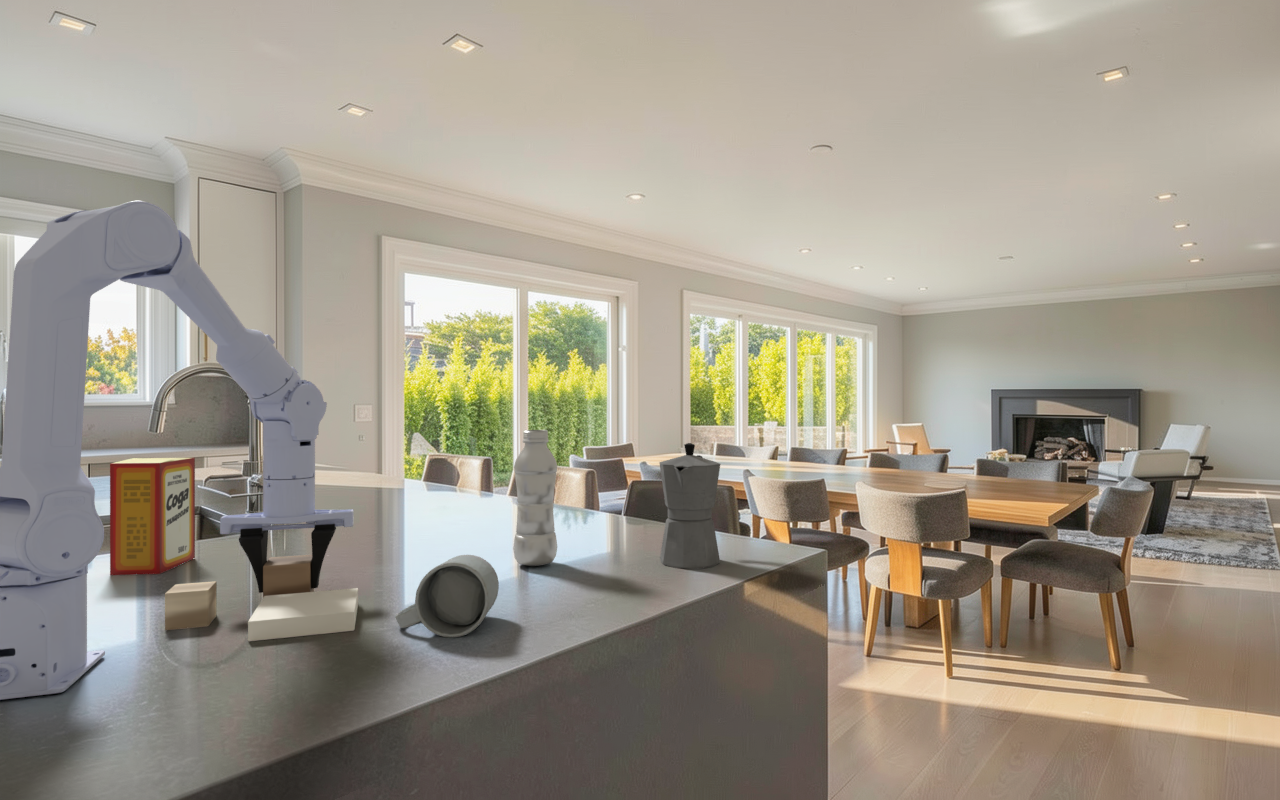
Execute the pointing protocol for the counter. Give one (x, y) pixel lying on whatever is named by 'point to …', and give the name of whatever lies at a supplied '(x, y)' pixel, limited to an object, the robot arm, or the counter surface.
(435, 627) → the ceramic mug
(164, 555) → the baking soda box
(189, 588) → the maple block
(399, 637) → the counter surface
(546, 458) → the plastic bottle
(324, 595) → the base
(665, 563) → the coffeepot
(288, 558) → the walnut block
